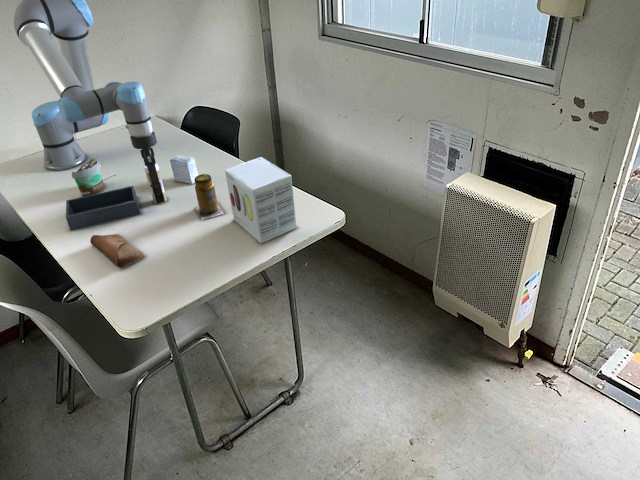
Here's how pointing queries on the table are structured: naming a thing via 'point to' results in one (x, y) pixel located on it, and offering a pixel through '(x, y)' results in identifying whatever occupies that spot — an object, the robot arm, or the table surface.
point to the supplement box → (261, 198)
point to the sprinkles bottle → (151, 182)
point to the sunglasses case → (116, 249)
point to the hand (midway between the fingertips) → (158, 194)
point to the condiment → (206, 197)
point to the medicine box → (184, 169)
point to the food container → (89, 178)
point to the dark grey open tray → (101, 207)
